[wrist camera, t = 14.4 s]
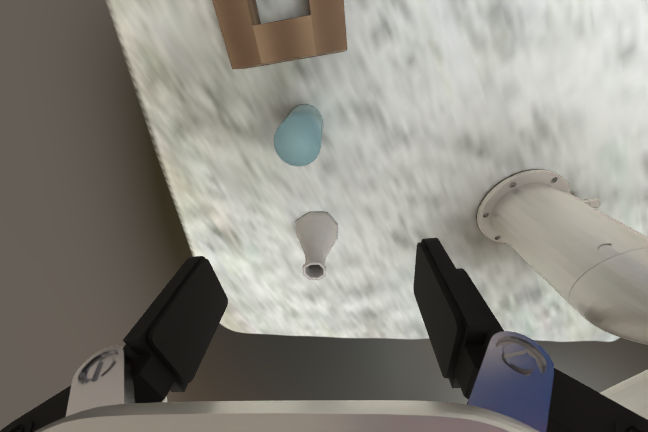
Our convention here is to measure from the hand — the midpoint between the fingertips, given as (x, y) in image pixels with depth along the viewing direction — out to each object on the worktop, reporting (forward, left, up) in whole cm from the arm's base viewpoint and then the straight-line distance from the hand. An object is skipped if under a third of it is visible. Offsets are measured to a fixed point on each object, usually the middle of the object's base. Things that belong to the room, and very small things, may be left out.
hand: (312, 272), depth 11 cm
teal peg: (+2, -2, -26) cm, 26 cm away
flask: (+3, +15, -26) cm, 30 cm away
